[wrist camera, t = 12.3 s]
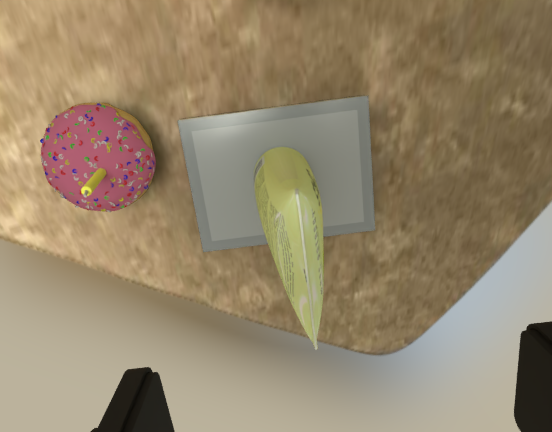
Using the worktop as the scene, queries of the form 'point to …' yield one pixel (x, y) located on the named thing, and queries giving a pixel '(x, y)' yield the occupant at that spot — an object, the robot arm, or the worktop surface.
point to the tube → (293, 229)
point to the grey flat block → (267, 135)
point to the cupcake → (98, 157)
